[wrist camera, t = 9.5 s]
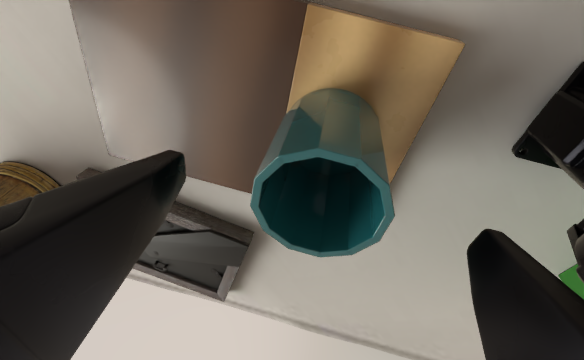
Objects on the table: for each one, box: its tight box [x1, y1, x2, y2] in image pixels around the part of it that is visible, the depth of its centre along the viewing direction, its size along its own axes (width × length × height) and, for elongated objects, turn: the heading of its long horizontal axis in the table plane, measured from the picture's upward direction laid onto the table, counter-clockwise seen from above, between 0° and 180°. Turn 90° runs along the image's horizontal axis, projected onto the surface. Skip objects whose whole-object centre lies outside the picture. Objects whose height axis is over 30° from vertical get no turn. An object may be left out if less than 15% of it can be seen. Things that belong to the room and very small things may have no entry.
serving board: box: [69, 0, 465, 194], centre depth 21 cm, size 24×15×1 cm, turn 79°
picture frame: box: [76, 168, 254, 302], centre depth 32 cm, size 13×2×18 cm
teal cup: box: [250, 88, 395, 257], centre depth 17 cm, size 7×7×8 cm
